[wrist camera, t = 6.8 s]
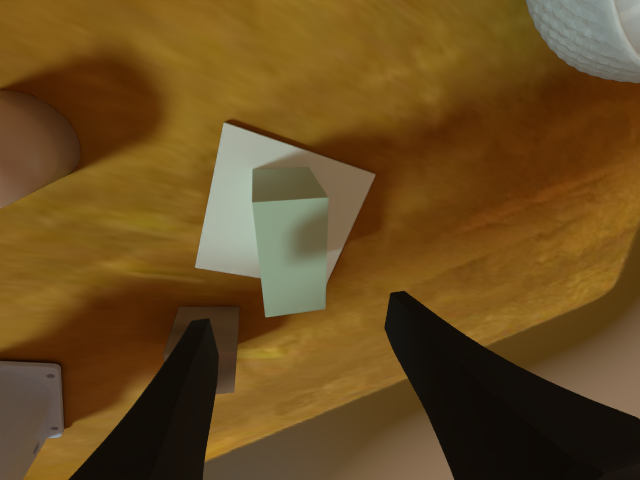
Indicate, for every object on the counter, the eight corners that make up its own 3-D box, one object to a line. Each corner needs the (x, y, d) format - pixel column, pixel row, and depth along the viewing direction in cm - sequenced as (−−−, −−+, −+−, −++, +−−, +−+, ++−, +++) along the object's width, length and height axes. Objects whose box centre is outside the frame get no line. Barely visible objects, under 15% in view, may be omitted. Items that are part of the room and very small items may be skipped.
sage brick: (309, 258, 21) (325, 309, 16) (262, 263, 20) (265, 317, 16) (308, 166, 18) (328, 197, 13) (252, 169, 17) (252, 202, 12)
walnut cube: (237, 344, 25) (234, 392, 21) (181, 346, 23) (167, 398, 19) (239, 305, 22) (237, 351, 19) (179, 305, 21) (162, 354, 17)
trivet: (323, 285, 23) (324, 288, 23) (195, 264, 20) (195, 267, 19) (373, 173, 19) (375, 174, 19) (224, 121, 16) (224, 122, 15)
